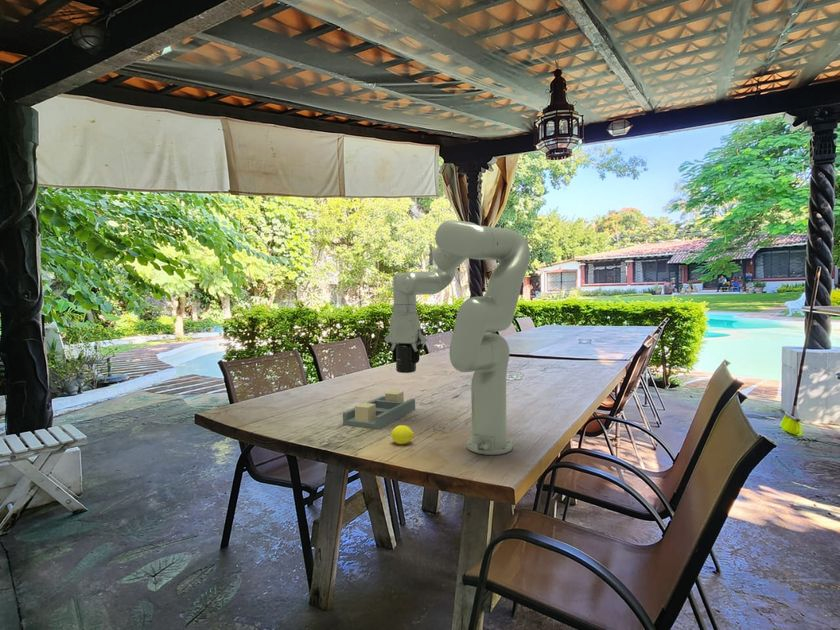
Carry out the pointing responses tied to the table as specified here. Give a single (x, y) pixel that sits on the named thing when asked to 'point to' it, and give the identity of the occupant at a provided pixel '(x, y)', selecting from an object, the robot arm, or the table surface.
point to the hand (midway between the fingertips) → (405, 361)
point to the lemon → (402, 434)
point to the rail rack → (379, 411)
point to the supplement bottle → (405, 358)
